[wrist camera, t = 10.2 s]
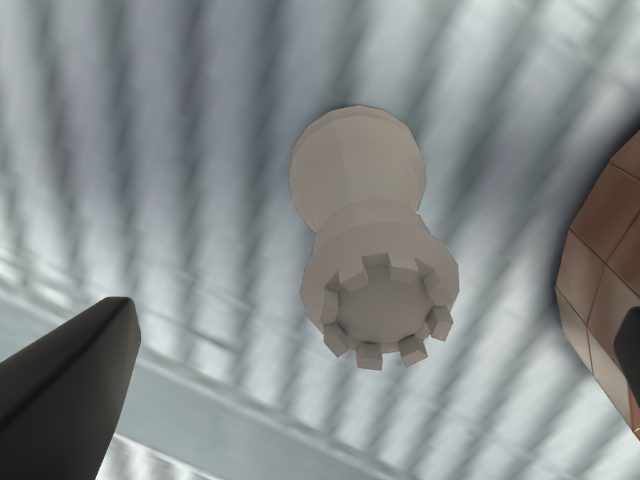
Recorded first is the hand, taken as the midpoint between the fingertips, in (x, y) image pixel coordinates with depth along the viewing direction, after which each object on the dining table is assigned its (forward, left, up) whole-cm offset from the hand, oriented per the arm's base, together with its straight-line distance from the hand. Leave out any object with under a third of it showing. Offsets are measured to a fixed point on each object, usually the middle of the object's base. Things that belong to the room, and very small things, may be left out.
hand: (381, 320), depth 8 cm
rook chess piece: (0, 0, -8) cm, 8 cm away
